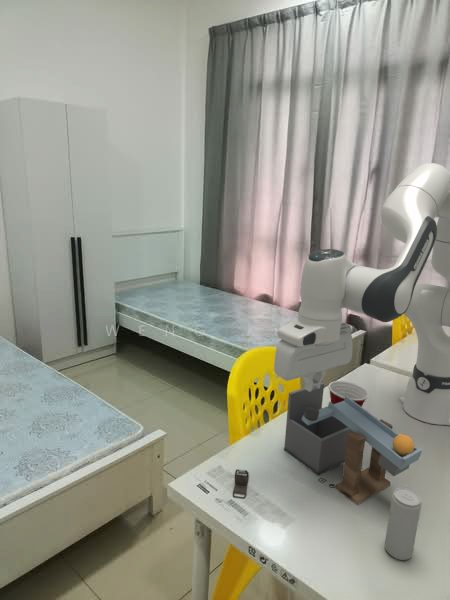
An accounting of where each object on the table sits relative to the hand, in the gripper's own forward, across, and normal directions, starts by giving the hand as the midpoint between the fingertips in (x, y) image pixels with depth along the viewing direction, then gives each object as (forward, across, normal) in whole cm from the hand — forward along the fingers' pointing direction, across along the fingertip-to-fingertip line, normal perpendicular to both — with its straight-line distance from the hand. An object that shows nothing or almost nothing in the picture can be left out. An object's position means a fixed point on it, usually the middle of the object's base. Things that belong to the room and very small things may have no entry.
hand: (312, 389), depth 92 cm
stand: (+23, -10, +9) cm, 26 cm away
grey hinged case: (+23, +13, -6) cm, 27 cm away
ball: (+7, -10, +17) cm, 21 cm away
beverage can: (+23, -1, +24) cm, 33 cm away
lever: (+12, -6, +8) cm, 16 cm away
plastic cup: (+23, -26, -10) cm, 36 cm away
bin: (+22, -10, -5) cm, 25 cm away
